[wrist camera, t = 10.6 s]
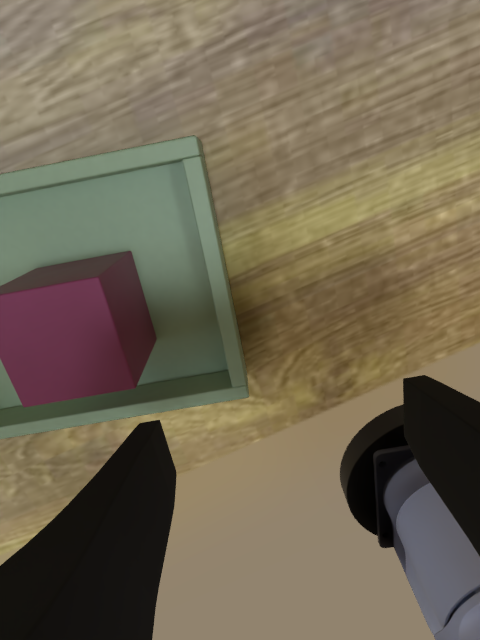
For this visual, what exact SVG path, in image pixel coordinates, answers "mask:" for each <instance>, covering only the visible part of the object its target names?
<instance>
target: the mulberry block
mask: <svg viewBox="0 0 480 640" xmlns="http://www.w3.org/2000/svg"><path fill="white" fill-rule="evenodd" d="M156 340H157V337H156V334H155V331H154V327H153V324H152V320H151V317H150V314H149V310H148V307H147V303H146V300H145V296H144V293H143V290H142V286H141V283H140V279H139V276H138V273H137V269H136V266H135V262H134V259H133V255H132V252H131V251H126V252H120V253H115V254H110V255H104V256H99V257H94V258H88V259H83V260H78V261H72V262H67V263H62V264H56V265H51V266H46V267H40V268H36V269H34V270H32V271H30V272H28V273H26V274H24V275H22V276H20V277H18V278H16V279H14V280H12V281H10V282H8V283H6V284H4V285H1V286H0V359H1V362H2V364H3V366H4V368H5V370H6V372H7V374H8V376H9V378H10V380H11V382H12V385H13V387H14V389H15V391H16V393H17V395H18V397H19V399H20V401H21V403H22V405H23V407H30V406H36V405H42V404H48V403H54V402H60V401H65V400H71V399H77V398H83V397H89V396H95V395H100V394H106V393H112V392H118V391H124V390H130V389H135V388H136V386H137V384H138V382H139V379H140V377H141V375H142V372H143V370H144V368H145V366H146V363H147V361H148V359H149V356H150V354H151V352H152V350H153V347H154V345H155V343H156Z"/></svg>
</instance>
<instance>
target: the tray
mask: <svg viewBox="0 0 480 640" xmlns="http://www.w3.org/2000/svg"><path fill="white" fill-rule="evenodd" d="M126 251H131V252H132V255H133V259H134V262H135V266H136V269H137V273H138V276H139V279H140V283H141V286H142V290H143V293H144V296H145V300H146V303H147V307H148V310H149V314H150V317H151V320H152V324H153V327H154V331H155V334H156V337H157V340H156V343H155V345H154V347H153V350H152V352H151V354H150V356H149V359H148V361H147V363H146V366H145V368H144V370H143V372H142V375H141V377H140V379H139V382H138V384H137V386H136V388H135V389H130V390H124V391H118V392H112V393H106V394H100V395H95V396H89V397H83V398H77V399H71V400H65V401H60V402H54V403H48V404H42V405H36V406H30V407H23V405H22V403H21V401H20V399H19V397H18V395H17V393H16V391H15V389H14V387H13V385H12V382H11V380H10V378H9V376H8V374H7V372H6V370H5V368H4V366H3V364H2V362H1V359H0V439H4V438H10V437H16V436H22V435H28V434H34V433H40V432H46V431H52V430H58V429H64V428H70V427H76V426H82V425H88V424H94V423H99V422H105V421H111V420H117V419H123V418H129V417H135V416H141V415H147V414H153V413H159V412H165V411H171V410H177V409H183V408H189V407H195V406H201V405H207V404H213V403H218V402H224V401H230V400H236V399H242V398H248V397H249V391H248V379H247V370H246V365H245V360H244V355H243V350H242V345H241V340H240V335H239V330H238V325H237V320H236V315H235V310H234V305H233V299H232V294H231V289H230V284H229V279H228V274H227V269H226V264H225V259H224V254H223V249H222V244H221V239H220V234H219V229H218V224H217V219H216V214H215V209H214V204H213V199H212V194H211V189H210V184H209V179H208V174H207V169H206V164H205V159H204V153H203V148H202V143H201V141H200V140H199V139H198V138H197V137H196V136H195V135H193V136H188V137H183V138H178V139H173V140H168V141H163V142H158V143H153V144H148V145H143V146H138V147H133V148H128V149H123V150H118V151H113V152H108V153H103V154H98V155H93V156H88V157H83V158H78V159H73V160H68V161H63V162H58V163H53V164H48V165H43V166H38V167H33V168H28V169H23V170H18V171H13V172H8V173H3V174H0V286H1V285H4V284H6V283H8V282H10V281H12V280H14V279H16V278H18V277H20V276H22V275H24V274H26V273H28V272H30V271H32V270H34V269H36V268H40V267H46V266H51V265H56V264H62V263H67V262H72V261H78V260H83V259H88V258H94V257H99V256H104V255H110V254H115V253H120V252H126Z"/></svg>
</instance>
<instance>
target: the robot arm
mask: <svg viewBox="0 0 480 640" xmlns="http://www.w3.org/2000/svg"><path fill="white" fill-rule="evenodd" d="M403 392H404V436H405V438H406V440H407V442H408V444H409V445H406V446H400V447H394V448H388V449H381V450H377V451H376V452H375V453H374V454H373V464H374V482H375V499H376V517H377V534H378V543H379V545H380V547H382V548H391V547H394V549H395V551H396V554H397V556H398V558H399V560H400V563H401V565H402V567H403V569H404V572H405V574H406V576H407V579H408V581H409V583H410V586H411V588H412V590H413V592H414V595H415V597H416V599H417V601H418V604H419V606H420V608H421V611H422V613H423V615H424V618H425V620H426V622H427V624H428V626H429V628H430V630H431V632H432V633H433V635H434V637H435V640H480V402H478V401H476V400H474V399H472V398H470V397H468V396H466V395H464V394H462V393H460V392H458V391H456V390H454V389H452V388H450V387H448V386H447V385H444V384H443V383H441V382H438V381H436V380H434V379H432V378H430V377H428V376H425V375H423V376H417V377H411V378H405V379H403ZM380 462H382V463H380ZM175 488H176V470H175V466H174V463H173V460H172V457H171V454H170V451H169V448H168V445H167V441H166V438H165V435H164V432H163V429H162V426H161V423H160V420H156V421H150V422H145V423H140V424H139V425H138V426H137V427H136V428H135V429H134V430H133V431H132V433H131V434H130V435H129V436H128V437H127V439H126V440H125V441H124V442H123V443H122V445H121V446H120V447H119V448H118V449H117V451H116V452H115V453H114V454H113V455H112V456H111V458H110V459H109V460H108V461H107V462H106V463H105V465H104V466H103V467H102V468H101V469H100V471H99V472H98V473H97V474H96V475H95V476H94V477H93V478H92V479H91V481H90V482H89V483H88V484H87V485H86V486H85V487H84V488H83V489H82V490H81V491H80V492H79V493H78V495H77V496H76V497H75V498H74V499H73V500H72V501H71V502H70V503H69V504H68V505H67V506H66V507H65V508H64V509H63V510H62V511H61V512H60V513H59V514H58V515H57V516H56V517H55V518H54V519H53V520H52V521H51V522H50V523H49V524H48V525H47V526H46V527H45V528H43V529H42V530H41V531H40V532H39V533H38V534H37V535H36V536H35V537H34V538H33V539H31V540H30V541H29V542H28V543H27V544H26V545H25V546H23V547H22V548H21V549H20V550H19V551H17V552H16V553H15V554H14V555H13V556H11V557H10V558H9V559H8V560H7V561H5V562H4V563H3V564H2V565H1V566H0V640H152V634H153V626H154V616H155V607H156V601H157V594H158V588H159V583H160V578H161V573H162V568H163V562H164V557H165V552H166V547H167V542H168V536H169V532H170V526H171V521H172V515H173V510H174V502H175Z"/></svg>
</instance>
